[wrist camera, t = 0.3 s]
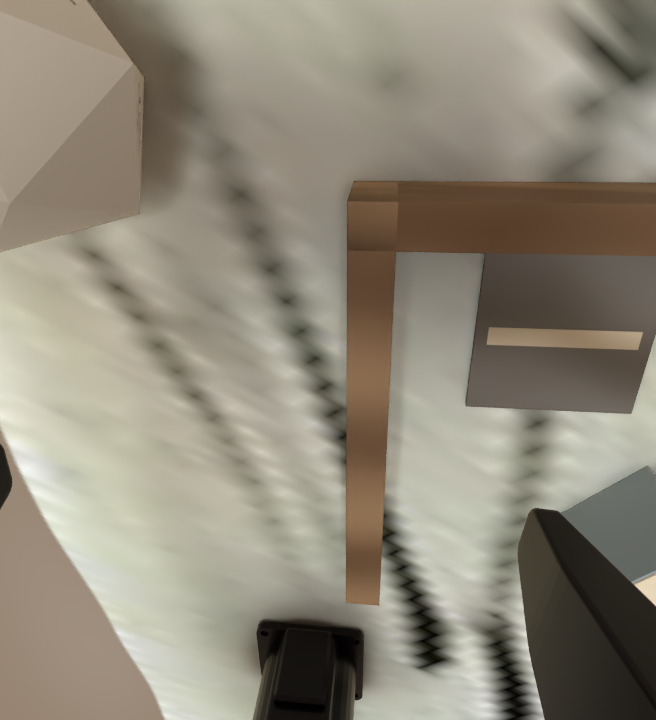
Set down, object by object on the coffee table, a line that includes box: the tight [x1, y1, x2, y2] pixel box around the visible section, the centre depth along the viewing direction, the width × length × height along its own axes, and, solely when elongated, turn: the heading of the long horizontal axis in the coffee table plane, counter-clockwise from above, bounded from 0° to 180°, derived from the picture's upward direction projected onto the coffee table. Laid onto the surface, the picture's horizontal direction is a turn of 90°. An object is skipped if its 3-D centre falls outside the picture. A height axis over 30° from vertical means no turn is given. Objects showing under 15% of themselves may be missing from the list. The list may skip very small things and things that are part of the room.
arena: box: [346, 181, 656, 606], centre depth 22 cm, size 19×19×4 cm
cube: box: [561, 466, 656, 606], centre depth 24 cm, size 5×5×5 cm
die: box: [0, 0, 144, 252], centre depth 16 cm, size 8×9×10 cm
